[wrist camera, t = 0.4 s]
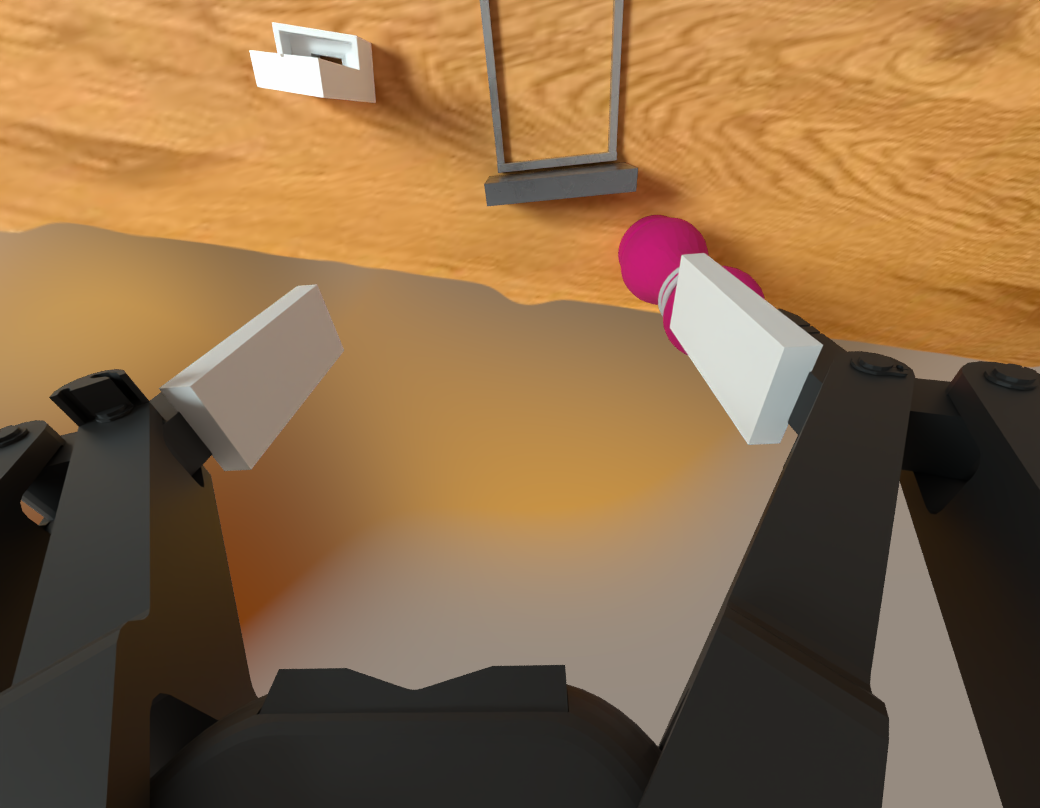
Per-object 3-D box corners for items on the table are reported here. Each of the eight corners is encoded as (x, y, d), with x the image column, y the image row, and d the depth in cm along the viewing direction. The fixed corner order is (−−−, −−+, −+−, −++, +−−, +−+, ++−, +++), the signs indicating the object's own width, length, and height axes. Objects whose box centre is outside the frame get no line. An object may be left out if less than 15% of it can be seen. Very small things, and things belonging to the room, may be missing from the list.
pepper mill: (631, 199, 35) (718, 265, 19) (702, 220, 36) (840, 301, 20) (602, 275, 39) (652, 381, 23) (666, 292, 40) (757, 406, 24)
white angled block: (422, 110, 30) (323, 97, 23) (334, 96, 33) (228, 81, 27) (421, 47, 27) (311, 14, 21) (327, 39, 31) (209, 8, 25)
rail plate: (464, -28, 27) (453, -54, 23) (637, -53, 26) (657, -85, 22) (491, 196, 35) (487, 206, 31) (623, 182, 34) (636, 191, 30)
